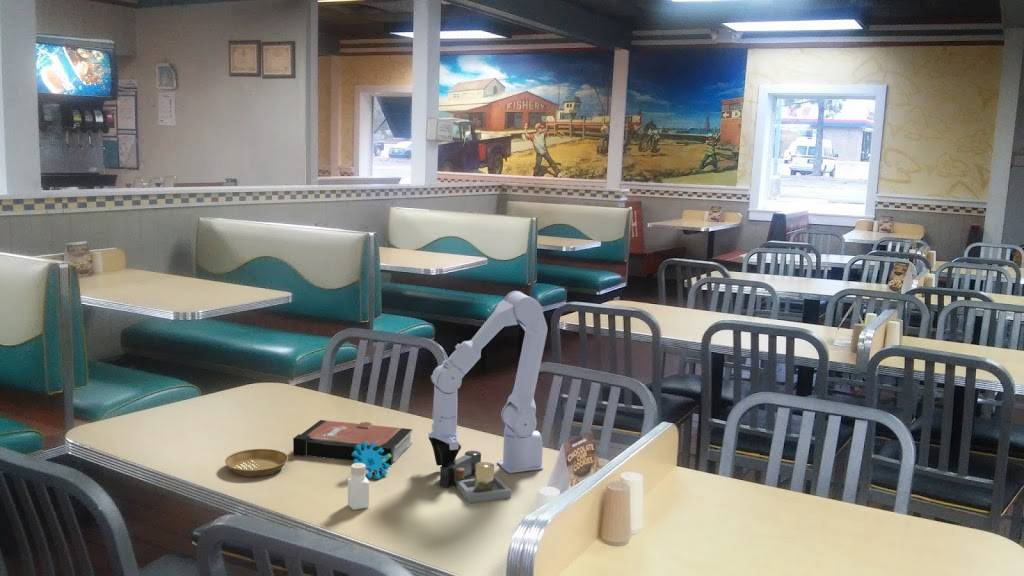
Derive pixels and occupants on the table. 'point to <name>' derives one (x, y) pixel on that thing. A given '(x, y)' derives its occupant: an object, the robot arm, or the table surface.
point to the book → (350, 440)
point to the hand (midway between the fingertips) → (444, 468)
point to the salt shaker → (358, 487)
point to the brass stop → (483, 477)
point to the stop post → (459, 475)
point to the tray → (468, 492)
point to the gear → (371, 459)
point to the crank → (463, 462)
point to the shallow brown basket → (257, 461)
